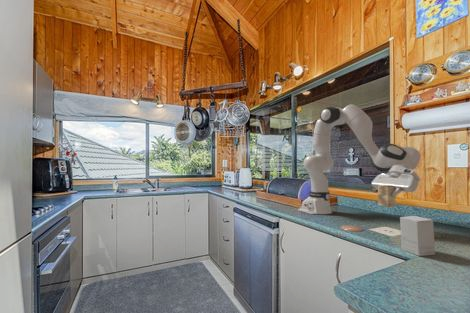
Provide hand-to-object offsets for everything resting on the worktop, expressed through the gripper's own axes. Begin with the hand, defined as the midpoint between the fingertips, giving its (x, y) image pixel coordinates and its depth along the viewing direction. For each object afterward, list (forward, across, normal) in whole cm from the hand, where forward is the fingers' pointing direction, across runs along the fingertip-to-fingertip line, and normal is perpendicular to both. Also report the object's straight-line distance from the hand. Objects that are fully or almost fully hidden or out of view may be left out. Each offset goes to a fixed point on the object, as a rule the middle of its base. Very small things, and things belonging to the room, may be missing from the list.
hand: (385, 195), depth 112 cm
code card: (+12, 0, +13) cm, 18 cm away
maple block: (+3, 0, +4) cm, 5 cm away
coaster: (+21, -10, +4) cm, 23 cm away
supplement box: (+22, +22, +3) cm, 31 cm away
